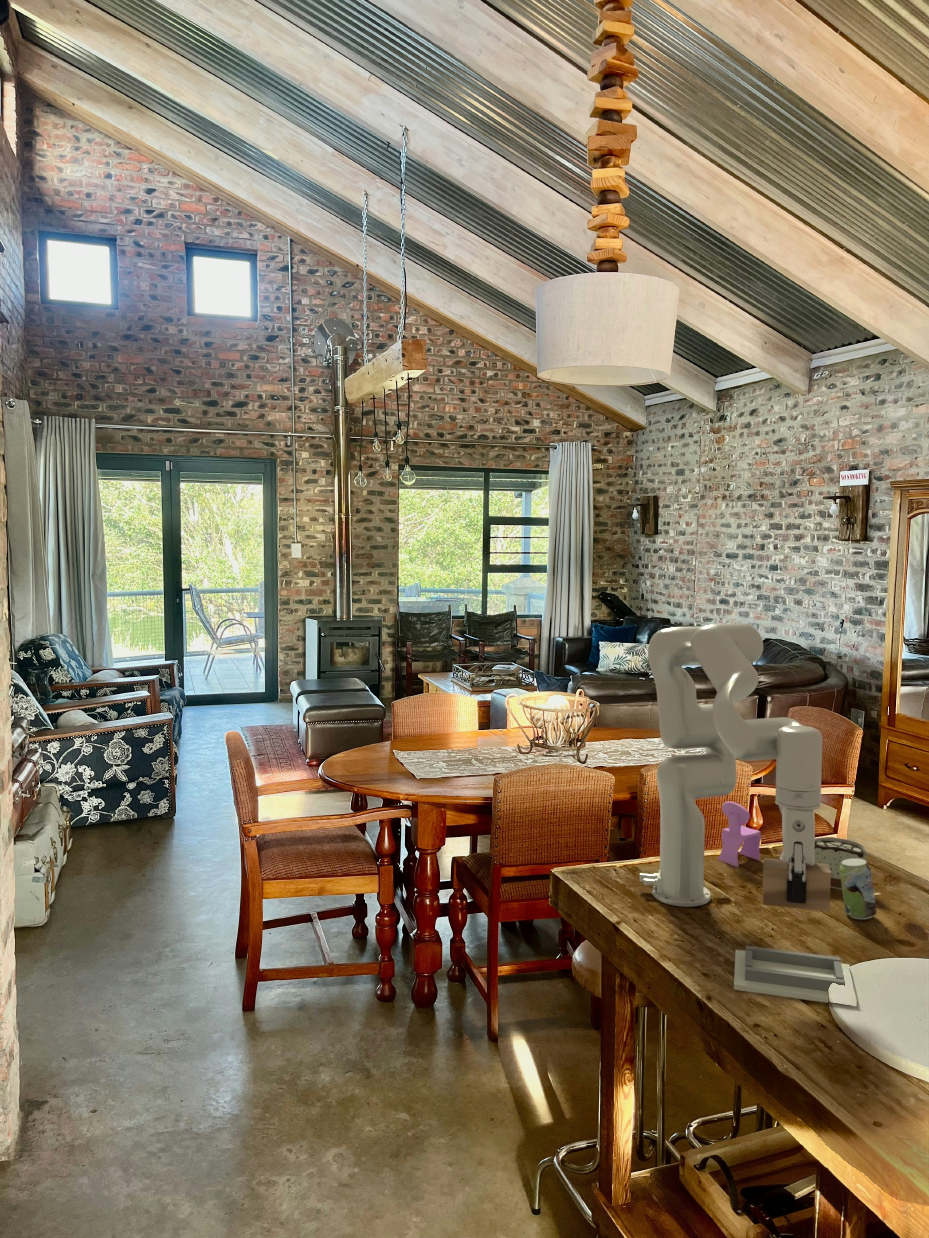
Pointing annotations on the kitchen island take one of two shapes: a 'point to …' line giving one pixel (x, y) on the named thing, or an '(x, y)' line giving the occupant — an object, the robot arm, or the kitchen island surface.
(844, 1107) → the kitchen island surface
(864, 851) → the food container
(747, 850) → the toy chair
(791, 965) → the pocket board
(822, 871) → the key block
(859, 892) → the beverage can
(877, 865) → the kitchen island surface
